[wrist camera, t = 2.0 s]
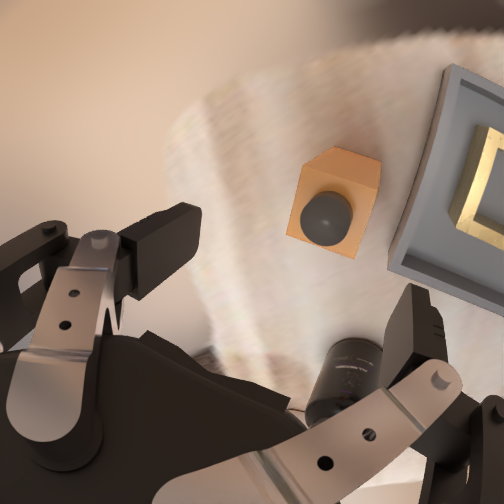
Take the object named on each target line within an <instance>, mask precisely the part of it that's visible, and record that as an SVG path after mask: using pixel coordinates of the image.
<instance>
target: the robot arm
mask: <svg viewBox="0 0 504 504" xmlns="http://www.w3.org/2000/svg"><path fill="white" fill-rule="evenodd" d="M201 218H202V211H201V208H200V207H197V206H194V205H191V204H188V203H185V202H181V203H179V204H177V205H175V206H173V207H171V208H169V209H167V210H164V211H159V212H155V213H153V214H152V215H150V216H147V217H146V218H144V219H142V220H140V221H139V222H136V223H134V224H132V225H130V226H129V227H127V228H125V229H123V230H121V231H119V232H118V233H115V232H113V231H110V230H95V231H91V232H88V233H86V234H84V235H83V236H82V237H81V239H79V238H74V237H70V236H68V229H67V225H66V223H64V222H62V221H57V220H53V221H47V222H43V223H41V224H39V225H37V226H35V227H33V228H32V229H29V230H27V231H26V232H24V233H22V234H20V235H18V236H17V237H15V238H13V239H11V240H9V241H8V242H6V243H4V244H3V245H1V246H0V504H341V503H340V500H341V499H343V498H344V497H346V496H347V495H349V494H350V493H351V492H353V491H354V490H356V489H357V488H359V487H360V486H361V485H363V484H364V483H365V482H367V481H368V480H369V479H371V478H372V477H373V476H374V475H376V474H377V473H378V472H380V471H381V470H382V469H383V468H385V467H386V466H387V465H388V464H389V463H391V462H392V461H393V460H394V459H395V458H396V457H398V456H399V455H400V454H401V453H402V452H403V451H405V450H406V449H407V448H408V447H411V448H412V449H414V450H416V451H417V452H419V453H421V454H422V455H424V456H425V457H427V462H426V468H425V474H424V479H423V484H422V489H421V494H420V499H419V503H418V504H504V399H503V398H501V397H499V396H497V395H489V396H487V397H486V398H485V399H484V400H483V401H482V402H481V403H478V402H477V401H475V400H474V399H472V398H470V397H469V396H467V395H466V394H464V393H463V392H462V391H461V390H462V381H461V378H460V376H459V374H458V373H457V371H456V370H455V369H454V368H453V367H452V366H451V365H449V364H448V356H447V347H446V339H445V332H444V325H443V318H442V317H441V315H440V313H439V312H438V310H437V308H435V307H433V306H431V304H430V297H429V291H428V290H427V289H425V288H422V287H420V286H417V285H414V284H412V283H409V284H408V285H407V286H406V288H405V290H404V292H403V294H402V296H401V298H400V300H399V302H398V304H397V306H396V307H395V309H394V311H393V313H392V315H391V317H390V319H389V321H388V324H387V327H386V330H385V336H384V346H383V354H382V362H381V370H380V377H379V384H378V389H377V390H376V391H374V392H373V393H371V394H370V395H368V396H366V397H365V398H363V399H362V400H360V401H358V402H357V403H355V404H353V405H352V406H350V407H348V408H347V409H345V410H343V411H342V412H340V413H338V414H336V415H335V416H333V417H331V418H329V419H327V420H326V421H324V422H322V423H320V424H318V425H316V426H314V427H312V428H311V429H309V430H308V428H307V427H306V426H305V425H304V424H303V423H302V422H301V421H300V420H299V419H298V418H297V417H296V416H295V415H294V414H292V413H291V412H290V411H288V410H287V409H286V408H287V406H288V403H289V401H290V399H291V398H289V397H287V396H284V395H282V394H279V393H277V392H275V391H272V390H270V389H267V388H265V387H263V386H260V385H258V384H256V383H253V382H250V381H245V380H240V379H236V378H232V377H227V376H223V375H219V374H215V373H211V372H209V371H207V370H206V369H204V368H203V367H202V366H201V365H200V364H198V363H197V362H196V361H195V360H194V359H192V358H191V357H190V356H189V355H188V354H186V353H185V352H184V351H183V350H182V349H181V348H179V347H178V346H176V345H174V344H172V343H170V342H169V341H167V340H165V339H163V338H161V337H159V336H157V335H156V334H154V333H152V332H150V331H148V330H147V331H146V332H145V333H144V334H143V335H142V336H141V337H140V338H135V337H130V336H123V335H122V323H123V312H124V297H125V296H126V295H129V296H131V297H133V298H135V299H136V300H138V301H140V300H141V299H142V298H144V297H145V296H146V295H147V294H148V293H150V292H151V291H152V290H153V289H154V288H156V287H157V286H158V285H160V284H161V283H162V282H163V281H164V280H166V279H167V278H168V277H169V276H171V275H172V274H173V273H174V272H176V271H177V270H178V269H179V268H181V267H182V266H183V265H184V264H186V263H187V262H188V261H189V260H191V259H192V258H193V257H194V255H195V254H196V252H197V249H198V245H199V237H200V227H201ZM37 263H39V268H40V272H41V276H42V279H41V280H40V281H38V282H37V283H35V284H34V285H33V286H31V287H30V288H28V289H27V290H26V291H25V292H23V293H22V294H21V293H20V290H19V287H18V281H19V278H20V276H21V275H22V274H23V273H24V272H25V271H27V270H28V269H30V268H31V267H33V266H34V265H36V264H37ZM34 328H35V330H34V333H33V336H32V339H31V342H30V345H29V347H28V348H27V349H21V350H15V351H8V350H9V349H10V348H12V347H13V346H14V345H15V344H16V343H17V342H18V341H20V340H21V339H22V338H23V337H24V336H25V335H27V334H28V333H29V332H30V331H31V330H32V329H34ZM7 351H8V352H7ZM469 465H470V467H469V478H468V481H467V480H466V479H467V470H468V466H469ZM466 481H467V484H466Z"/></svg>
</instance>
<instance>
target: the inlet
mask: <svg viewBox="0 0 504 504" xmlns="http://www.w3.org/2000/svg"><path fill="white" fill-rule="evenodd" d="M497 149H498V150H500V151H501V152H503V153H504V134H502V133H500V132H498V131H496V130H494V129H493V128H491V127H487V126H480V125H476V126H475V130H474V134H473V137H472V141H471V144H470V148H469V151H468V155H467V158H466V161H465V164H464V167H463V171H462V174H461V177H460V179H459V182H458V185H457V188H456V191H455V194H454V196H453V199H452V202H451V205H450V207H449V210H448V212H447V213H448V215H449V217H450V219H451V221H452V223H453V225H454V227H455V228H456V229H458V230H461V231H463V232H465V233H467V234H470V235H472V236H474V237H476V238H478V239H480V240H482V241H485V242H487V243H489V244H491V245H493V246H495V247H497V248H499V249H501V250H503V251H504V226H502V225H500V224H498V223H496V222H494V221H492V220H490V219H488V218H486V217H484V216H482V215H480V214H478V213H476V210H477V208H478V205H479V203H480V200H481V197H482V195H483V192H484V189H485V186H486V183H487V181H488V178H489V175H490V172H491V169H492V165H493V162H494V159H495V156H496V152H497Z"/></svg>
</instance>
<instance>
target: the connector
mask: <svg viewBox="0 0 504 504" xmlns="http://www.w3.org/2000/svg"><path fill="white" fill-rule="evenodd" d="M381 163H382V162H380V161H377V160H374V159H372V158H369V157H366V156H363V155H360V154H357V153H354V152H350V151H347V150H344V149H341V148H338V147H335V146H334V147H332V148H331V149H329V150H327V151H326V152H324V153H322V154H321V155H319V156H317V157H316V158H314V159H312V160H311V161H309V162H307V163H306V164H304V165H303V166H302V170H301V174H300V178H299V182H298V187H297V191H296V195H295V199H294V203H293V207H292V211H291V215H290V219H289V223H288V227H287V231H286V235H288V236H291V237H294V238H297V239H300V240H302V241H305V242H308V243H311V244H313V245H316V246H319V247H322V248H324V249H327V250H330V251H332V252H335V253H338V254H341V255H343V256H346V257H349V258H351V259H355V256H356V253H357V251H358V248H359V245H360V242H361V240H362V237H363V234H364V231H365V229H366V226H367V223H368V220H369V217H370V214H371V211H372V208H373V205H374V202H375V199H376V196H377V193H378V189H379V181H380V172H381Z"/></svg>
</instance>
